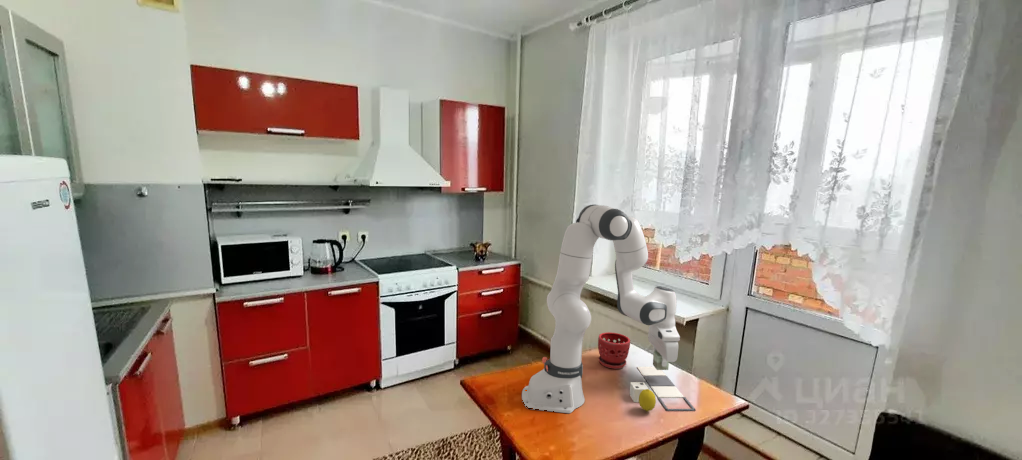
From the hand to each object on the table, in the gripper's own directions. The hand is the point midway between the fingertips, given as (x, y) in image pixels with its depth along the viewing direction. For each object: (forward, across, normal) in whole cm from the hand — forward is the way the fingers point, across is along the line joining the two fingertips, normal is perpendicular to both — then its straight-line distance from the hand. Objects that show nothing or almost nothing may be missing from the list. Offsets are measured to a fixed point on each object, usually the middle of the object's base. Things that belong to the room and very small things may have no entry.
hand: (660, 362), depth 159 cm
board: (+8, +4, 0) cm, 9 cm away
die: (+8, +12, -12) cm, 19 cm away
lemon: (+8, +20, -12) cm, 25 cm away
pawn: (+2, 0, 0) cm, 2 cm away
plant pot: (+8, -15, -14) cm, 22 cm away
